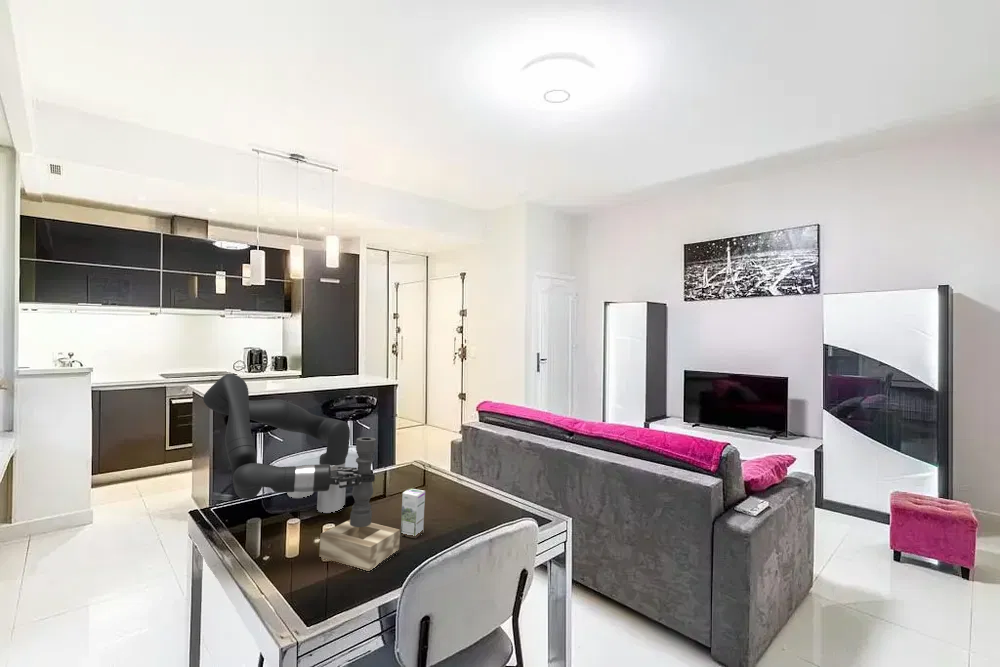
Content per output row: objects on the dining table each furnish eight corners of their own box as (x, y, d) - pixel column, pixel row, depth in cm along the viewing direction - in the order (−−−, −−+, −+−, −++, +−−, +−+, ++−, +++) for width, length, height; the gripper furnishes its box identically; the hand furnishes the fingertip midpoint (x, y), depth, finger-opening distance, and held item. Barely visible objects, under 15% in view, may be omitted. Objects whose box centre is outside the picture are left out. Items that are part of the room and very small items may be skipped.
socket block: (351, 540, 151) (353, 518, 151) (398, 552, 144) (400, 529, 144) (319, 557, 138) (320, 533, 139) (368, 572, 131) (370, 547, 131)
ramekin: (280, 494, 190) (280, 481, 190) (306, 488, 199) (307, 476, 199) (293, 501, 183) (294, 487, 183) (320, 495, 191) (321, 482, 191)
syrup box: (423, 533, 160) (426, 489, 160) (415, 539, 154) (417, 495, 154) (408, 530, 161) (411, 487, 162) (399, 536, 156) (402, 492, 156)
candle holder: (352, 518, 144) (358, 436, 145) (373, 519, 145) (378, 437, 145) (347, 526, 138) (353, 440, 138) (369, 527, 138) (374, 441, 139)
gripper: (313, 471, 130) (377, 469, 136) (313, 459, 143) (371, 457, 149) (311, 499, 130) (375, 495, 136) (311, 483, 143) (370, 481, 149)
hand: (373, 475), depth 143 cm, fingers closed on candle holder, 3 cm apart
